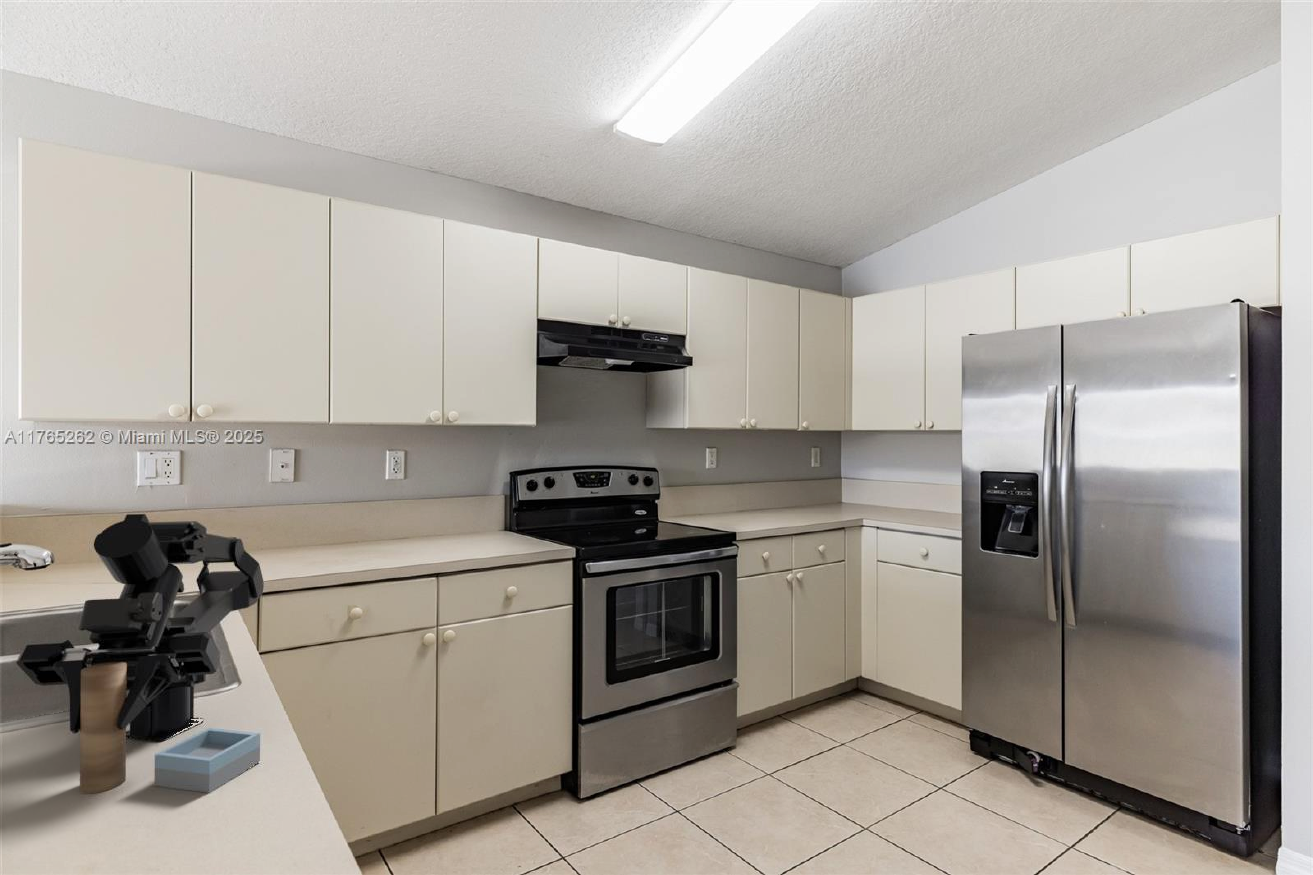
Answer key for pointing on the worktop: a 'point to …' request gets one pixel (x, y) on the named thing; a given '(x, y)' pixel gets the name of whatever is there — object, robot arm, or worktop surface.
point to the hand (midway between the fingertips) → (96, 730)
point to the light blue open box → (207, 759)
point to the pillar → (102, 727)
